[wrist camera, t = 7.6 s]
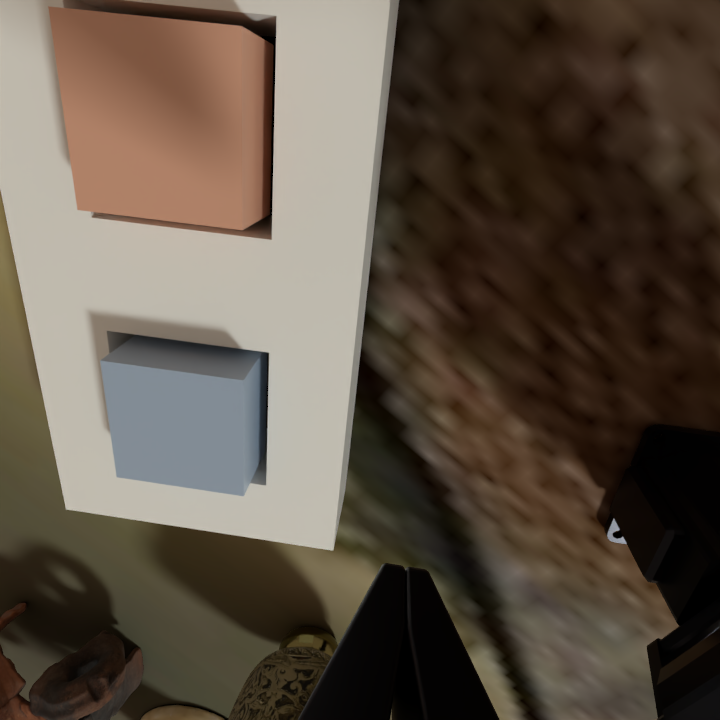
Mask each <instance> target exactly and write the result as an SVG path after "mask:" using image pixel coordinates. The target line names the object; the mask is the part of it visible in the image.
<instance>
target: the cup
mask: <svg viewBox="0 0 720 720" xmlns="http://www.w3.org/2000/svg"><path fill="white" fill-rule="evenodd" d="M337 647H338V644H337V642H336V640H335V639H334V637H333V636H332V635H331V634H329V633H328V632H326V631H324V630H322V629H320V628H316V627H309V626H305V627H299V628H296V629H294V630H292V631H290V632H289V633H288V634H287V635H286V636H285V638H284V639H283V640H282V642H281V644H280V647H279V650H278V651H276V652H274V653H272V654H270V655H268V656H267V657H266V658H264V659H263V660H262V661H261V662H260V663H259V664H258V665H257V666H256V667H255V669H254V670H253V671H252V672H251V674H250V675H249V677H248V679H247V680H246V682H245V684H244V686H243V688H242V690H241V692H240V694H239V696H238V698H237V700H236V702H235V704H234V707H233V709H232V711H231V713H230V716H229V718H228V720H298V718H299V716H300V714H301V712H302V711H303V709H304V707H305V705H306V703H307V701H308V700H309V698H310V696H311V694H312V692H313V690H314V689H315V687H316V685H317V683H318V681H319V679H320V678H321V676H322V674H323V672H324V670H325V669H326V667H327V665H328V663H329V661H330V659H331V658H332V656H333V654H334V652H335V650H336V648H337Z"/></svg>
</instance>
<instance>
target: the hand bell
mask: <svg viewBox="0 0 720 720" xmlns="http://www.w3.org/2000/svg"><path fill="white" fill-rule="evenodd" d="M141 720H225V719H223V718H222V717H220V716H218V715H216V714H214V713H211V712H208V711H205V710H202V709H199V708H194V707H188V706H181V705H168V706H162V707H158V708H155V709H152V710H151V711H149V712H147V713H146V714H145V715H144V716H143V717H142V718H141Z"/></svg>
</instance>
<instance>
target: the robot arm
mask: <svg viewBox="0 0 720 720" xmlns="http://www.w3.org/2000/svg"><path fill="white" fill-rule="evenodd" d="M658 434H662V435H661V436H660V437H659V438H657V439H654V437H655V436H656V435H658ZM610 512H611V513H610V516H609V518H608V520H607V523H606V525H605V529H604V530H605V533H606V535H607V537H608V539H609V540H610V541H613V542H617V543H623V544H627V545H628V547H629V549H630V551H631V553H632V555H633V557H634V559H635V561H636V563H637V565H638V567H639V569H640V570H641V572H642V574H643V576H644V577H645V578H646V580H647V581H648V582H653V583H656V584H657V586H658V588H659V590H660V592H661V594H662V596H663V598H664V599H665V601H666V603H667V605H668V607H669V609H670V611H671V613H672V615H673V616H674V618H675V620H676V622H677V624H678V625H679V627H678V628H676V629H675V630H674V631H672V632H671V633H669V634H668V635H667V636H665V637H664V638H663V639H659V638H658V639H656V640H655V641H653V642H652V643H650V644H649V645H648V646H647V652H648V658H649V665H650V671H651V677H652V683H653V690H654V696H655V702H656V708H657V715H658V719H657V720H720V432H712V431H705V430H698V429H690V428H683V427H676V426H669V425H661V424H655V425H652V426H650V427H648V428H647V429H646V430H645V432H644V434H643V436H642V439H641V441H640V443H639V446H638V448H637V451H636V453H635V455H634V458H633V460H632V463H631V465H630V466H629V467H628V468H627V469H626V471H625V473H624V475H623V478H622V480H621V483H620V485H619V487H618V490H617V492H616V495H615V497H614V500H613V502H612V504H611V507H610ZM619 530H620V531H619ZM615 531H618V532H615ZM391 709H392V720H499V718H498V716H497V713H496V711H495V709H494V707H493V705H492V703H491V701H490V699H489V697H488V695H487V693H486V690H485V688H484V686H483V684H482V682H481V680H480V678H479V676H478V674H477V672H476V670H475V668H474V665H473V663H472V661H471V659H470V657H469V655H468V653H467V651H466V649H465V647H464V645H463V642H462V640H461V638H460V636H459V634H458V632H457V630H456V628H455V626H454V624H453V622H452V620H451V617H450V615H449V613H448V611H447V609H446V607H445V605H444V603H443V601H442V599H441V597H440V594H439V592H438V590H437V588H436V586H435V584H434V582H433V580H432V578H431V576H430V574H429V572H428V571H427V570H425V569H420V568H414V567H407V568H406V569H404V567H403V566H401V565H395V564H388V563H385V564H383V565H382V566H381V568H380V570H379V572H378V573H377V575H376V577H375V579H374V581H373V583H372V584H371V586H370V588H369V590H368V592H367V594H366V595H365V597H364V599H363V601H362V603H361V604H360V606H359V608H358V610H357V612H356V614H355V615H354V617H353V619H352V621H351V623H350V625H349V626H348V628H347V630H346V632H345V634H344V636H343V637H342V639H341V641H340V643H339V645H338V647H337V648H336V650H335V652H334V654H333V656H332V658H331V659H330V661H329V663H328V665H327V667H326V669H325V670H324V672H323V674H322V676H321V678H320V679H319V681H318V683H317V685H316V687H315V689H314V690H313V692H312V694H311V696H310V698H309V700H308V701H307V703H306V705H305V707H304V709H303V711H302V712H301V714H300V716H299V718H298V720H390V715H391Z"/></svg>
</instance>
